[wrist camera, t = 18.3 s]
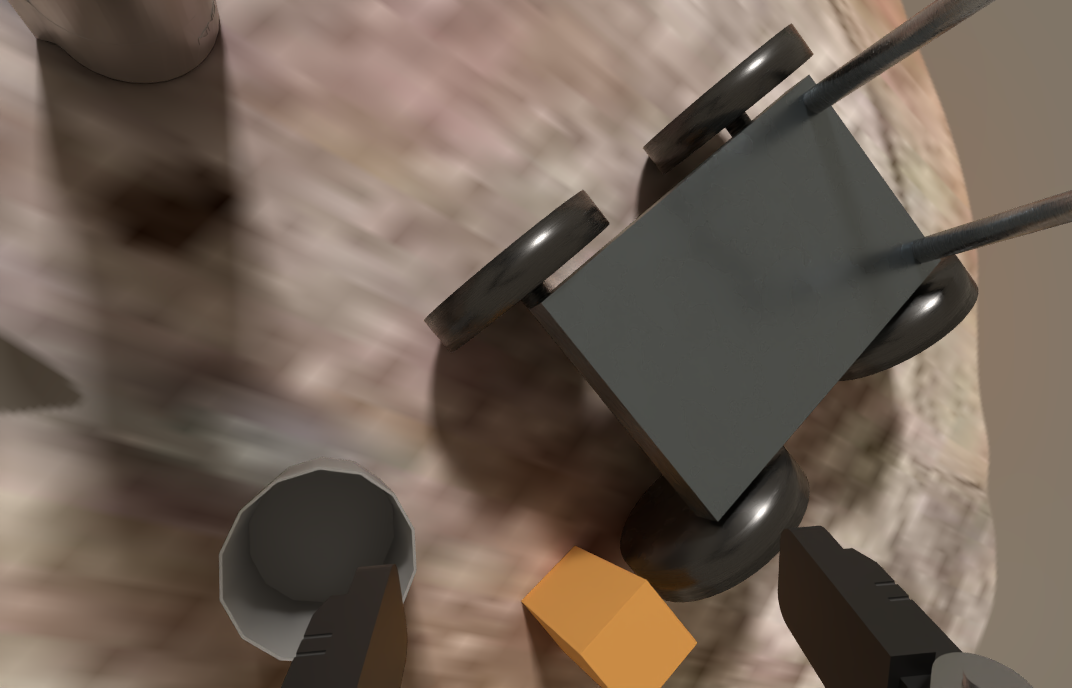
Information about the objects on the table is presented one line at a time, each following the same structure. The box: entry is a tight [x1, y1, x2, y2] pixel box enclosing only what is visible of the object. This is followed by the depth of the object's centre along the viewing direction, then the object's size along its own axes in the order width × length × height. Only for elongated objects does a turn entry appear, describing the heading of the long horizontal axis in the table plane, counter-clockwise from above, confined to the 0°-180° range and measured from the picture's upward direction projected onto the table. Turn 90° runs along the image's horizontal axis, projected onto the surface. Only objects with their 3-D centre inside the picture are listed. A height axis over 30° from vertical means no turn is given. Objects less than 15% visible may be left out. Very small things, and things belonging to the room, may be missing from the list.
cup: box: [219, 457, 416, 661], centre depth 32 cm, size 8×8×10 cm
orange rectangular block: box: [522, 546, 697, 688], centre depth 36 cm, size 5×4×10 cm
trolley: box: [424, 0, 1072, 602], centre depth 33 cm, size 32×21×29 cm
